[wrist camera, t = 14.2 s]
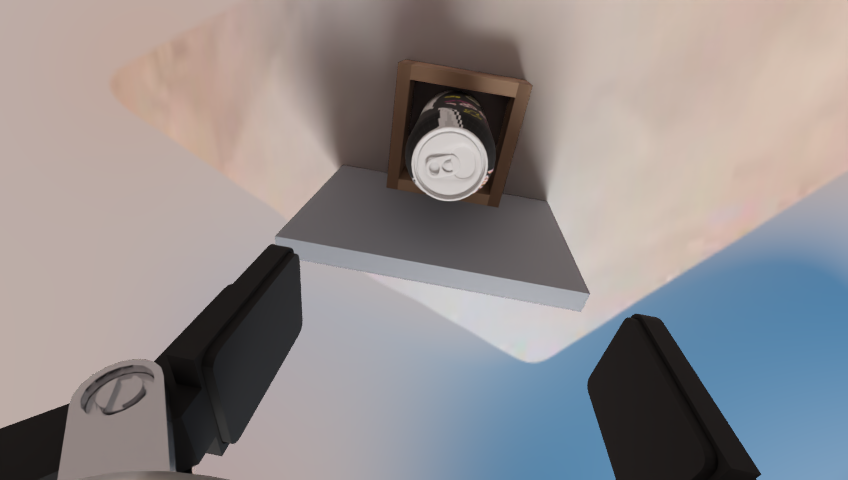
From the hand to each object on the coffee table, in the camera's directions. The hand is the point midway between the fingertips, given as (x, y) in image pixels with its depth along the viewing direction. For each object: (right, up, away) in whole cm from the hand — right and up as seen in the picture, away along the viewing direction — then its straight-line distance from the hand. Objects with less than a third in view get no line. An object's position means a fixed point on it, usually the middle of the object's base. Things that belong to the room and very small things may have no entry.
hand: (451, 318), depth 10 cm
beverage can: (+2, +13, +21) cm, 25 cm away
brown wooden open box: (+2, +12, +21) cm, 25 cm away
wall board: (+1, +7, +24) cm, 25 cm away
